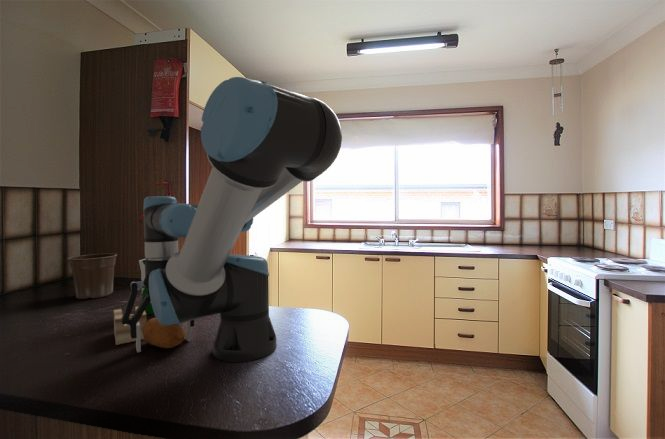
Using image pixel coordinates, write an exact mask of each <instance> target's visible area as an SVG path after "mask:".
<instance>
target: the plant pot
mask: <svg viewBox="0 0 665 439" xmlns="http://www.w3.org/2000/svg"><path fill="white" fill-rule="evenodd" d="M117 256H118V254H117V253H96V254H94V253H91V254H83V255H76V256H70V257H68V258H67V261H69V267H70V269H71V273H72V279H73V284H74V285H73V286H74V291H75V293H74V294H75V298H76V299H78V300H88V299H89V298H91V299H97V298H105V297H107V296H110V295H112V294H114V280H115V279H114V278H115V277H114V276H115V266H116V263H117V262H116V259H117Z"/></svg>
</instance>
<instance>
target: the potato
mask: <svg viewBox="0 0 665 439" xmlns="http://www.w3.org/2000/svg"><path fill="white" fill-rule="evenodd" d="M142 333H143V337H144V339H143V341H145V342H146V343H148V344H149V345H150V346H155V347H157V348H161V349H162V348H163V349H172V348H175V347H176V346H178V345H181V344H182V343H183V341H184V340H185V339H186V338H185V330H184V329H183V328H182V327H181V326H180V324H173V325H168V326H164V325H161V324H160V323H159V322H158V321H157V319H156V317H153V318H151V319H149V320H147V322H146V323H145V325H144V327H143V332H142Z"/></svg>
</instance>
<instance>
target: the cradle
mask: <svg viewBox="0 0 665 439" xmlns="http://www.w3.org/2000/svg"><path fill="white" fill-rule="evenodd" d="M138 307H139V305H138V306H135V307H134V308H135V312H136V310H137V308H138ZM135 312H134V313H135ZM134 313H132V314H130V317H129V318H132V316H133V315H134ZM122 316H123V310H122V308H118V309H113V329H114V330H113V332H114V340H115V345H116V346H117V345H122V344H127V343H131V342H136V338H133V339H132V338H131V334H130V325H127V324H125V325H123V324H122V321H121V319H122ZM147 317H148V316H147V314H146V312H145V311H144V312H143V314H142V316H141V317H140V319H139V321H138V322H139V323H140V338H141V340H144V337H143V333H142V332H143V327H144V325H145V323H146V322H148V320H147Z"/></svg>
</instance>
